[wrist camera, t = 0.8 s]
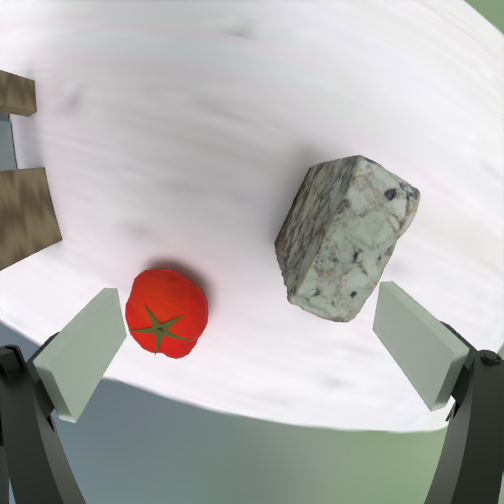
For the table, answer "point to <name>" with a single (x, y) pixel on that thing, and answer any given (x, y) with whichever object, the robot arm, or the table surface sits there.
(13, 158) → the gate
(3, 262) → the wall frame
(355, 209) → the stone block
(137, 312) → the tomato
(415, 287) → the table surface
